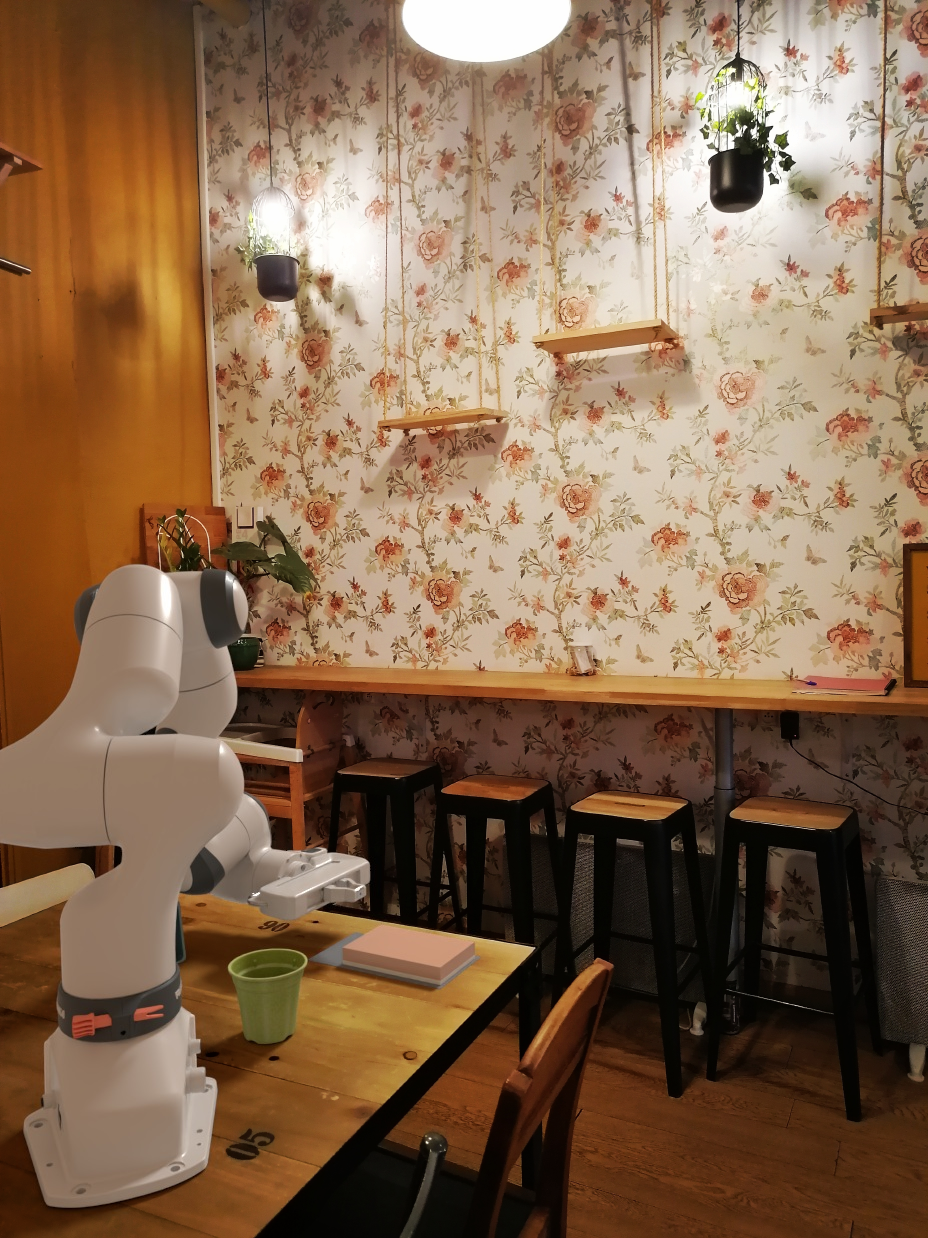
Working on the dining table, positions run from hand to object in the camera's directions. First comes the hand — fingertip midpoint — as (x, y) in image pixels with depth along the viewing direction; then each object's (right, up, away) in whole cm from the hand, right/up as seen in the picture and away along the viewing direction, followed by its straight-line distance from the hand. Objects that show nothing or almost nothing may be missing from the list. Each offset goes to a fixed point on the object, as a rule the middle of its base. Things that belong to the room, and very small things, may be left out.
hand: (360, 894), depth 137 cm
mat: (+5, -9, -2) cm, 11 cm away
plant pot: (-8, -10, -23) cm, 27 cm away
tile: (0, -7, 0) cm, 7 cm away
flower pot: (-36, -6, 0) cm, 36 cm away
